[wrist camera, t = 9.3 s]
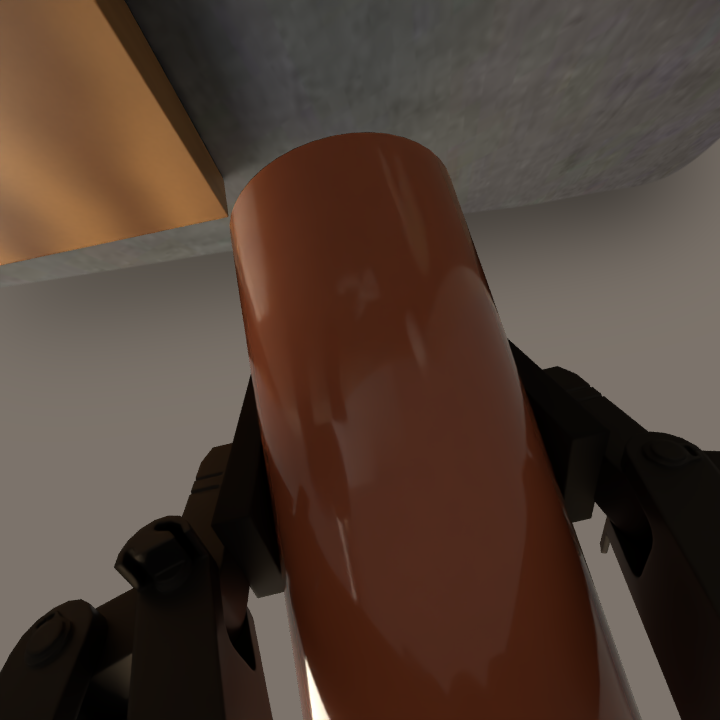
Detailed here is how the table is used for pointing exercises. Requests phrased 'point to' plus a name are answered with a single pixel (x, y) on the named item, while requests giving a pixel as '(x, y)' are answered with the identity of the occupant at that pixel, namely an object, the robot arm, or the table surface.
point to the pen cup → (407, 454)
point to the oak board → (92, 133)
